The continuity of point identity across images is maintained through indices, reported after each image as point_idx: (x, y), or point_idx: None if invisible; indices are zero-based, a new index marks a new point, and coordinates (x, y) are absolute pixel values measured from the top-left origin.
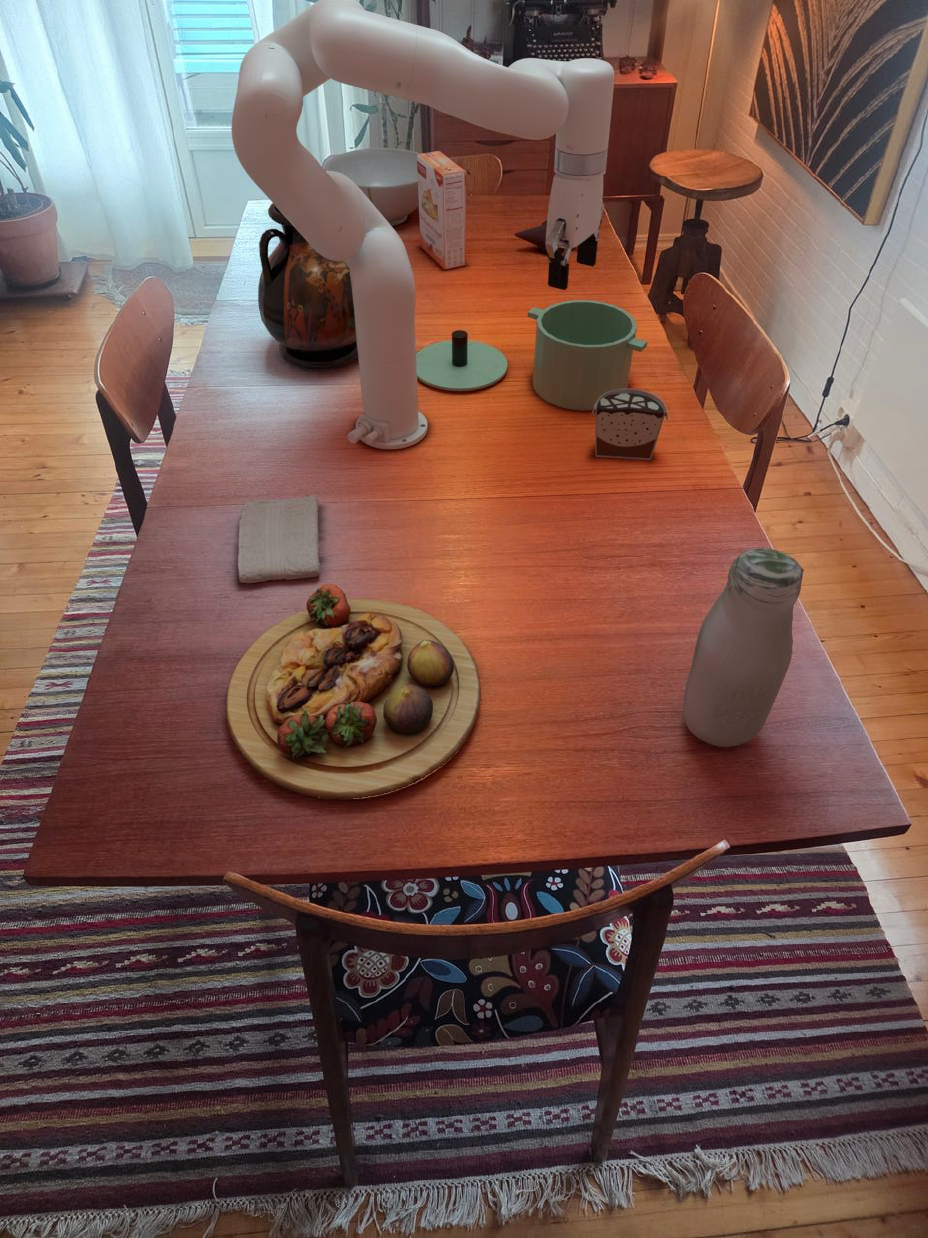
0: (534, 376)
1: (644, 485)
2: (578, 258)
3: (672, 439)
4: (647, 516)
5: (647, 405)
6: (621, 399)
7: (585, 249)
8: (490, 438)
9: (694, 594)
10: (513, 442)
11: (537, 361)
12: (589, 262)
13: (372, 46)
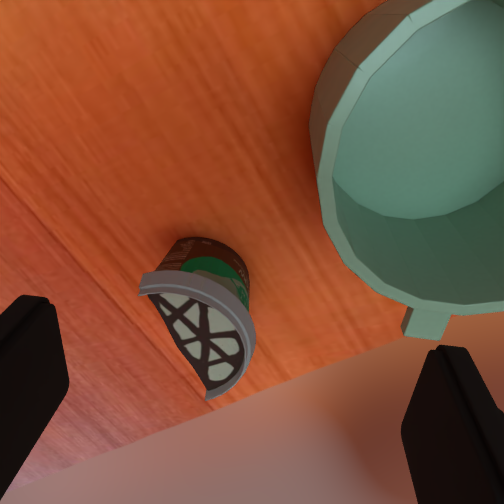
0: (375, 11)
1: (151, 323)
2: (437, 375)
3: (293, 329)
4: (89, 342)
5: (214, 364)
6: (208, 320)
7: (442, 482)
8: (107, 15)
9: None
10: (126, 76)
11: (370, 25)
12: (407, 429)
13: None
